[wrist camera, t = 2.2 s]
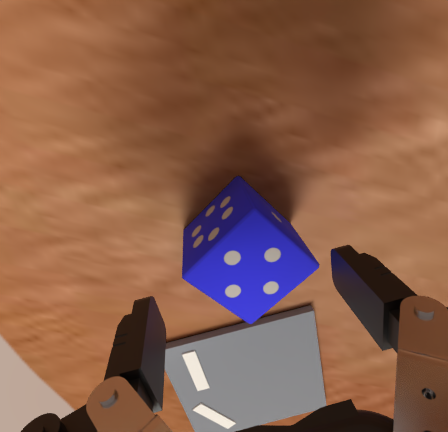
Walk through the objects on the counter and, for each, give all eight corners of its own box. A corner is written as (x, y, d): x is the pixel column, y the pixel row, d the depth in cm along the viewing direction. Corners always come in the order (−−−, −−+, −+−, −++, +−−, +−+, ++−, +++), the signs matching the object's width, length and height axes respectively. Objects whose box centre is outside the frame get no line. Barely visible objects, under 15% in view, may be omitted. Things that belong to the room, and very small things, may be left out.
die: (291, 223, 19) (322, 267, 15) (237, 272, 21) (250, 326, 16) (237, 173, 18) (254, 206, 13) (182, 230, 19) (180, 278, 14)
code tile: (310, 305, 22) (314, 311, 22) (323, 400, 28) (327, 408, 27) (157, 345, 22) (156, 353, 22) (199, 433, 28) (199, 442, 27)
